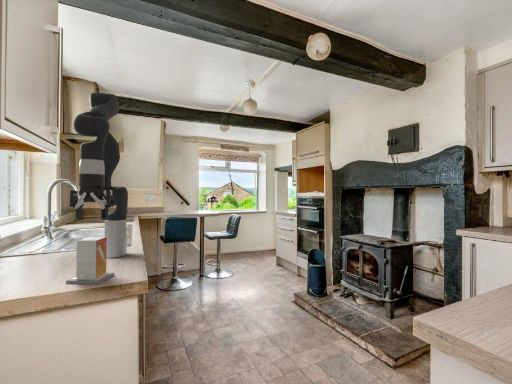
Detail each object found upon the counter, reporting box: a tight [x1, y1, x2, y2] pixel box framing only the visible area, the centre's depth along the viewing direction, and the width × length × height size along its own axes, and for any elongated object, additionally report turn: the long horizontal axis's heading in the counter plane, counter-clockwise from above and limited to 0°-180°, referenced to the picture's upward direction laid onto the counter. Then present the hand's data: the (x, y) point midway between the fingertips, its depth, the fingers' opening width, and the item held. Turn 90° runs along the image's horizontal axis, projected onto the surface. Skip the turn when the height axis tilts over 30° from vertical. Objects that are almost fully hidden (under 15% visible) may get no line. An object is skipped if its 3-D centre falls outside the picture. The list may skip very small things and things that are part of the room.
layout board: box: [65, 271, 115, 285], centre depth 90 cm, size 9×11×1 cm
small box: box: [75, 236, 107, 280], centre depth 90 cm, size 8×6×13 cm
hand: (92, 219), depth 90 cm, fingers open, 8 cm apart
